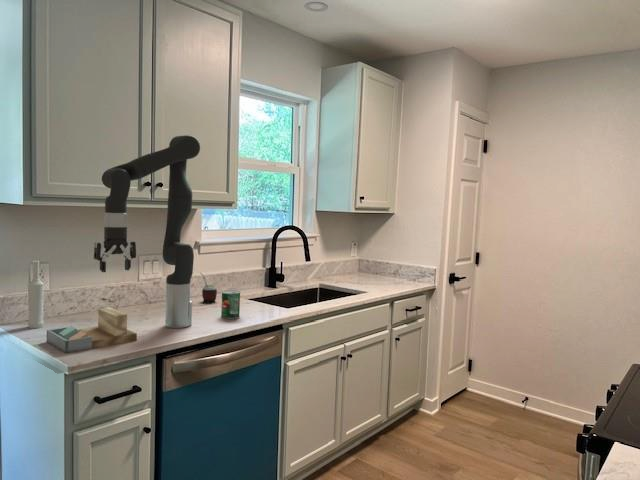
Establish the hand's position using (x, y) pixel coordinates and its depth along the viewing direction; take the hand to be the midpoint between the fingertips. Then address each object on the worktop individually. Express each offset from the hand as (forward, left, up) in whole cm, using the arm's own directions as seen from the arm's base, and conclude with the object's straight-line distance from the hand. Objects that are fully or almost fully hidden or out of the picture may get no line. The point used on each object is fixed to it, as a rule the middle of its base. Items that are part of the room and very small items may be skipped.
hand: (115, 271), depth 176 cm
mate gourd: (-62, -32, -24) cm, 74 cm away
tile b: (+14, +5, -22) cm, 27 cm away
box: (+16, 0, -24) cm, 29 cm away
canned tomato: (-52, -1, -24) cm, 57 cm away
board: (+4, 0, -24) cm, 24 cm away
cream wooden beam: (+1, 0, -22) cm, 22 cm away
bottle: (+16, -31, -24) cm, 42 cm away
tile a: (+14, -4, -22) cm, 26 cm away
